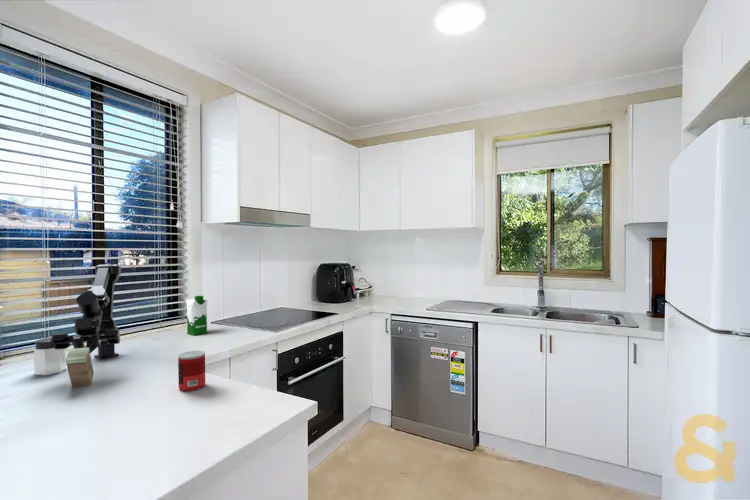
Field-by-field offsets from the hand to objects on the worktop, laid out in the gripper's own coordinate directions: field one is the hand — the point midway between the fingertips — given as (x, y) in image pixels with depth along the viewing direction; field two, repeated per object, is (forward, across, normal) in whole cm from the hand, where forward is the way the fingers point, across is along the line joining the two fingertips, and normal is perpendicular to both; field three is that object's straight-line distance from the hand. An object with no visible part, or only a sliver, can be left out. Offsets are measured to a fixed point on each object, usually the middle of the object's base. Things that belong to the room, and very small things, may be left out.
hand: (82, 360), depth 125 cm
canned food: (+19, +34, -8) cm, 39 cm away
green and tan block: (+4, 0, +5) cm, 7 cm away
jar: (-9, -14, +20) cm, 26 cm away
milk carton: (-39, +34, +50) cm, 72 cm away
